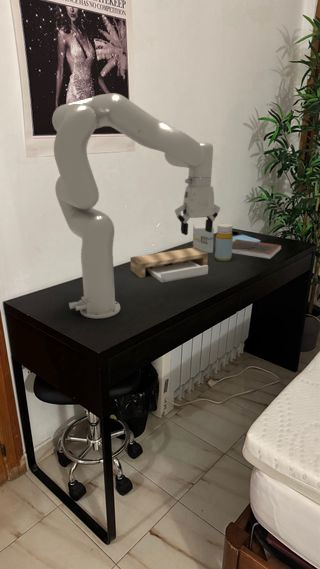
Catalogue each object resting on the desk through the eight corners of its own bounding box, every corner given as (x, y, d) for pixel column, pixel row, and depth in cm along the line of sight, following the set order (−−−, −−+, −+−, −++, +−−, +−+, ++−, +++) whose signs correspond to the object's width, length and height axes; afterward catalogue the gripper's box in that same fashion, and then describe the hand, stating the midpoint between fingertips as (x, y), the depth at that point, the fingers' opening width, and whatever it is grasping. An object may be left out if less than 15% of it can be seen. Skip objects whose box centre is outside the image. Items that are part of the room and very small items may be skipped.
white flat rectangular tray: (162, 282, 152) (162, 273, 151) (146, 271, 164) (146, 262, 163) (207, 274, 160) (208, 265, 159) (189, 263, 172) (190, 255, 171)
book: (223, 252, 188) (270, 259, 178) (223, 247, 187) (270, 254, 177) (236, 243, 201) (280, 250, 191) (236, 238, 200) (281, 244, 190)
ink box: (192, 247, 193) (192, 223, 189) (210, 247, 194) (211, 222, 189) (194, 253, 185) (195, 227, 181) (213, 253, 186) (214, 227, 181)
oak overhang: (140, 277, 157) (140, 264, 155) (130, 270, 165) (130, 257, 163) (207, 266, 169) (207, 253, 167) (195, 259, 177) (195, 247, 175)
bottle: (229, 262, 173) (231, 227, 168) (213, 260, 175) (215, 226, 170) (232, 257, 179) (234, 223, 174) (216, 256, 182) (218, 222, 176)
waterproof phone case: (261, 243, 203) (261, 240, 202) (243, 246, 197) (243, 244, 196) (242, 236, 213) (242, 234, 213) (224, 240, 207) (224, 238, 207)
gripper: (182, 184, 129) (180, 237, 135) (227, 182, 136) (223, 233, 142) (171, 181, 135) (169, 232, 141) (215, 180, 142) (211, 228, 149)
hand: (196, 232), depth 142 cm, fingers open, 9 cm apart
